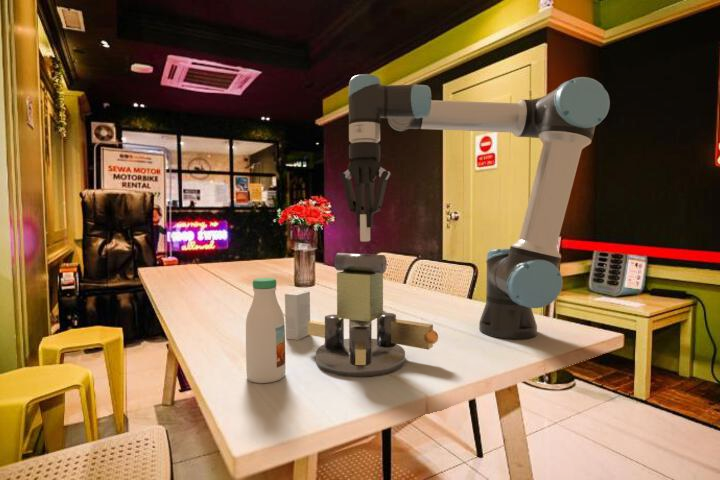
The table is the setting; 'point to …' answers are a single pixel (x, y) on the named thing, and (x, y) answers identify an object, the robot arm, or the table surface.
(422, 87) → the robot arm
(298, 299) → the skincare box
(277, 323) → the milk bottle
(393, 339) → the knob lever
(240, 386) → the table surface
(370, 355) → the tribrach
